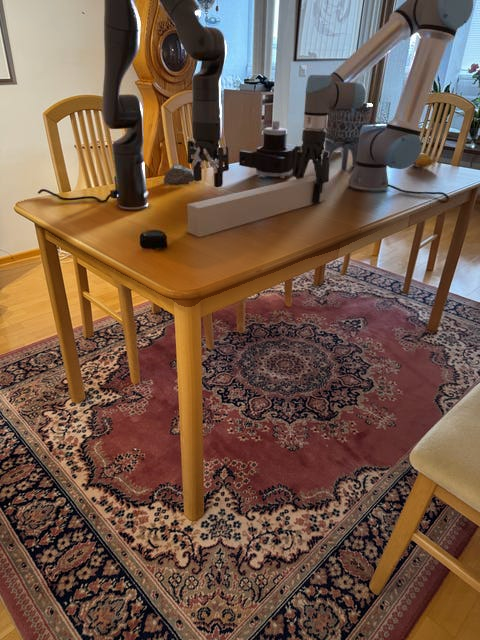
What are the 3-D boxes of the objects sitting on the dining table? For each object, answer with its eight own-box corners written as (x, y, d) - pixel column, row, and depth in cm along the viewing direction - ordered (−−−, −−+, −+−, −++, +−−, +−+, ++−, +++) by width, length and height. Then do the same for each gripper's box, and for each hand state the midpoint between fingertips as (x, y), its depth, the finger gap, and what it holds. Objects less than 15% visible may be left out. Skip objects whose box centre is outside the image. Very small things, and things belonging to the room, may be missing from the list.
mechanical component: (240, 120, 182) (283, 115, 202) (239, 174, 192) (280, 164, 212) (283, 126, 170) (325, 120, 190) (280, 183, 180) (320, 171, 200)
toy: (409, 160, 208) (403, 153, 221) (411, 174, 211) (405, 166, 224) (434, 152, 205) (427, 146, 218) (436, 166, 208) (429, 159, 221)
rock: (189, 177, 184) (188, 161, 181) (201, 182, 179) (201, 165, 176) (161, 182, 177) (159, 165, 173) (173, 187, 171) (172, 170, 168)
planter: (313, 167, 208) (319, 103, 195) (331, 160, 222) (338, 101, 209) (353, 173, 199) (362, 107, 185) (369, 166, 213) (379, 104, 199)
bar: (311, 198, 163) (313, 175, 159) (322, 201, 160) (325, 177, 156) (188, 232, 129) (186, 204, 125) (199, 237, 126) (198, 208, 122)
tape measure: (140, 252, 115) (139, 238, 113) (141, 242, 120) (140, 229, 119) (167, 251, 116) (166, 237, 114) (167, 241, 121) (166, 228, 120)
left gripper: (178, 117, 118) (181, 181, 126) (214, 123, 109) (214, 191, 117) (200, 115, 122) (201, 177, 131) (236, 121, 114) (235, 186, 122)
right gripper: (284, 126, 150) (279, 196, 161) (332, 133, 138) (323, 208, 149) (298, 125, 154) (293, 193, 166) (346, 131, 142) (337, 204, 154)
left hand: (207, 183), depth 124 cm, fingers open, 8 cm apart
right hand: (307, 200), depth 158 cm, fingers open, 6 cm apart
